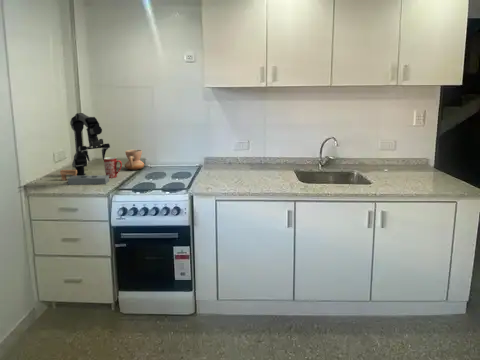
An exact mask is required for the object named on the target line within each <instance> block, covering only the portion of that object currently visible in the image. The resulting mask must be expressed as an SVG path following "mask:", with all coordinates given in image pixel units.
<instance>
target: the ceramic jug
mask: <svg viewBox="0 0 480 360" xmlns="http://www.w3.org/2000/svg"><path fill="white" fill-rule="evenodd" d="M124 152H125V155H126V158H127V161H126V162H125V163H124V168H125V169H127V170H130V171H138V170H141V169H143V168H145V163H144V162H143V161H142V160H141V158H142V155H143V149H127V150H125V151H124Z"/></svg>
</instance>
